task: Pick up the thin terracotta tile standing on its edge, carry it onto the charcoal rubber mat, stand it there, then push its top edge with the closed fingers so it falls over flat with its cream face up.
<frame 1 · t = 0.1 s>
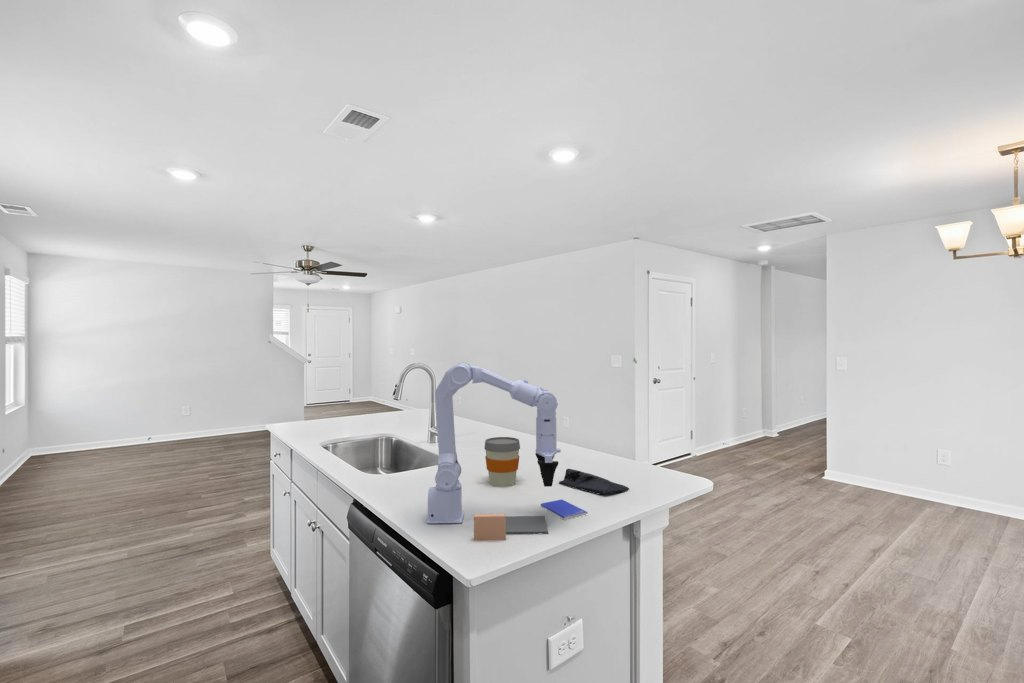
hand: (546, 482, 134), 10 cm above the counter, tool pointing down, fingers open, 7 cm apart
reusable coffee cup: (502, 483, 167), on the counter
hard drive: (563, 513, 139), on the counter
tile: (489, 539, 120), on the counter
mat: (520, 525, 128), on the counter
dark slate chunk: (593, 488, 163), on the counter
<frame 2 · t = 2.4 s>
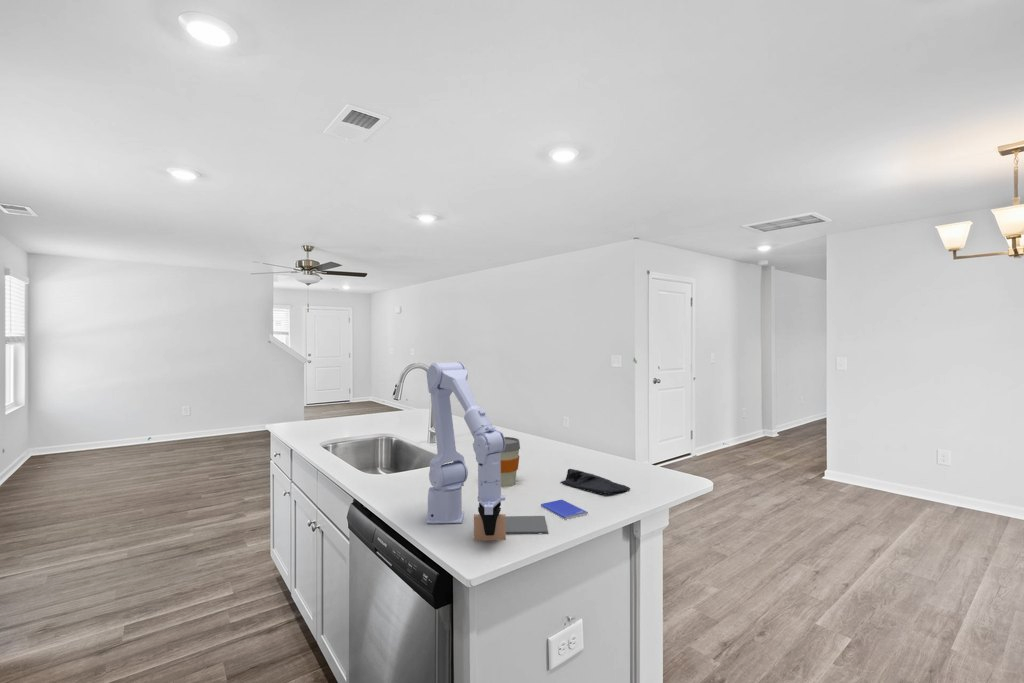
hand: (489, 533, 120), 1 cm above the counter, tool pointing down, fingers closed on tile, 2 cm apart
tile: (489, 539, 120), on the counter, touching gripper
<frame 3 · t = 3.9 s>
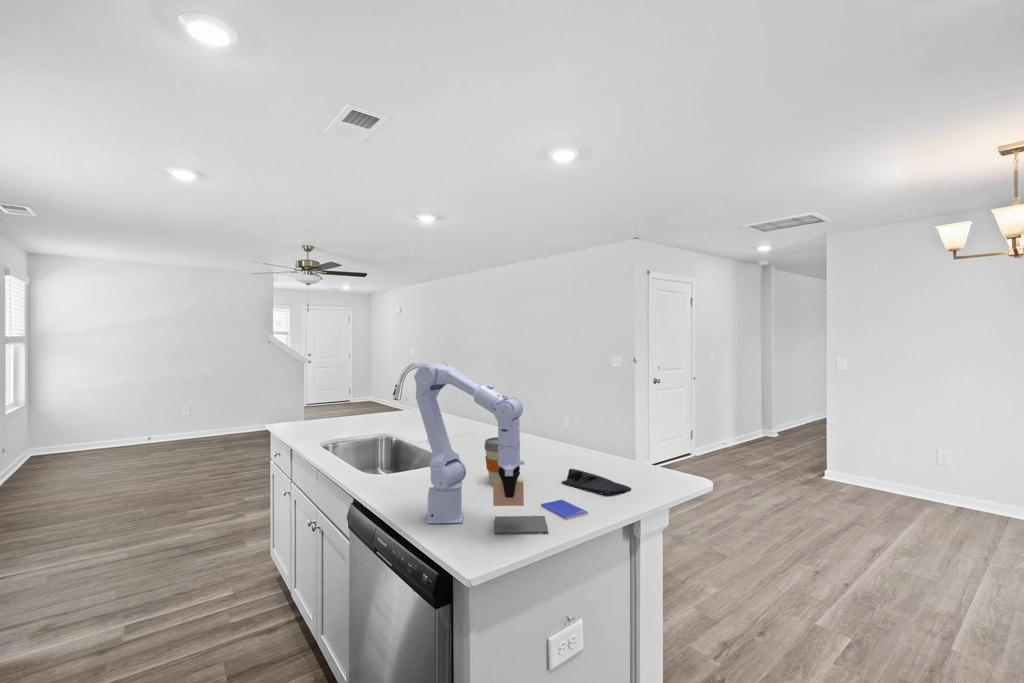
hand: (509, 495, 126), 9 cm above the counter, tool pointing down, fingers closed on tile
tile: (508, 504, 126), point 7 cm above the counter, touching gripper
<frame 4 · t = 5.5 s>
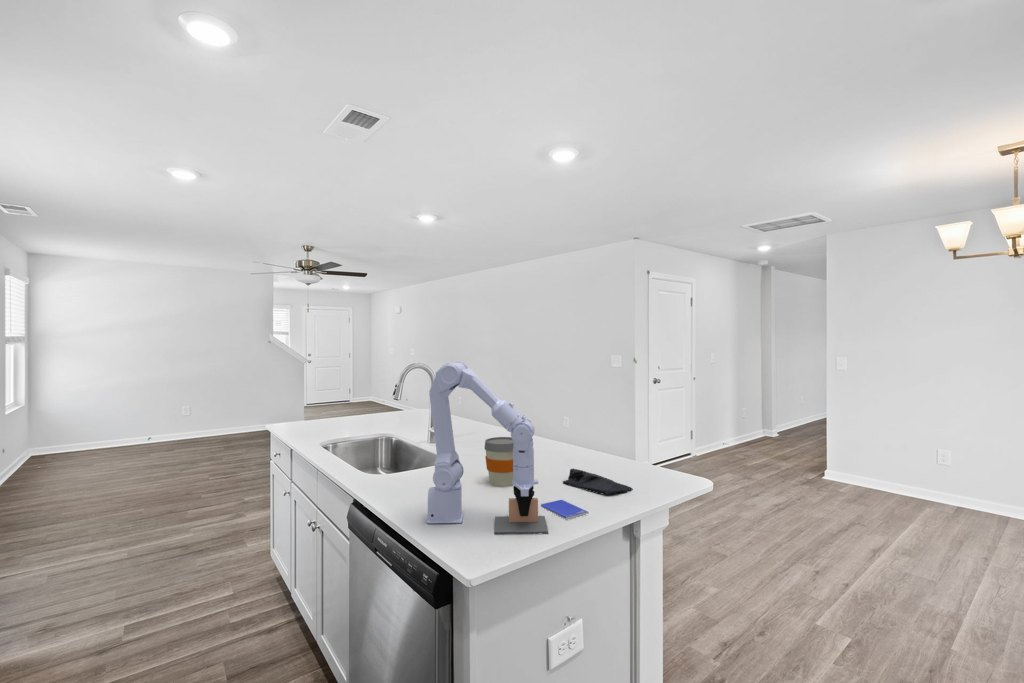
hand: (523, 514, 130), 2 cm above the counter, tool pointing down, fingers closed on tile, 2 cm apart
tile: (523, 520, 130), point 1 cm above the counter, touching gripper, mat
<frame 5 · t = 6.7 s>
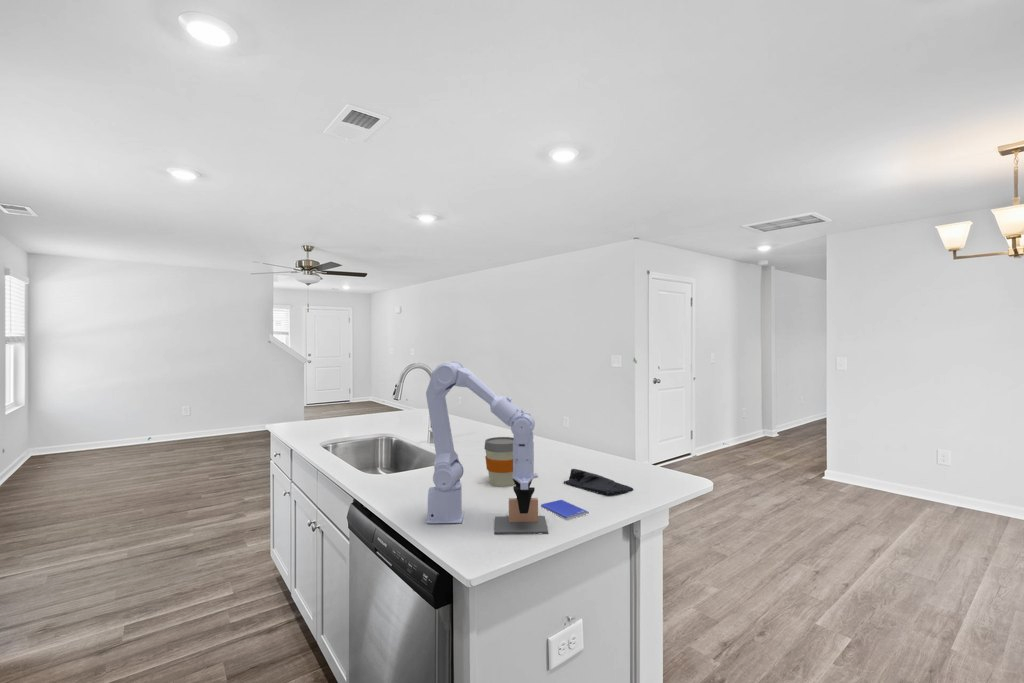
hand: (523, 507, 130), 4 cm above the counter, tool pointing down, fingers open, 7 cm apart
tile: (523, 520, 130), point 1 cm above the counter, touching mat
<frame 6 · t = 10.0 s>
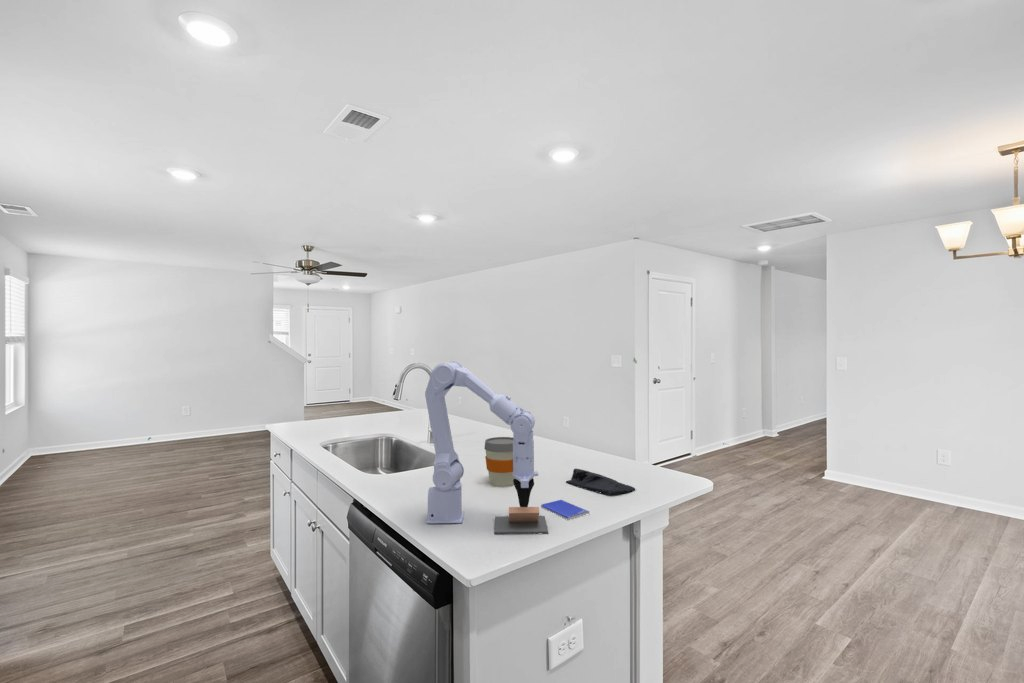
hand: (523, 506, 130), 5 cm above the counter, tool pointing down, fingers closed
tile: (523, 519, 130), point 1 cm above the counter, tilted 47°, touching mat
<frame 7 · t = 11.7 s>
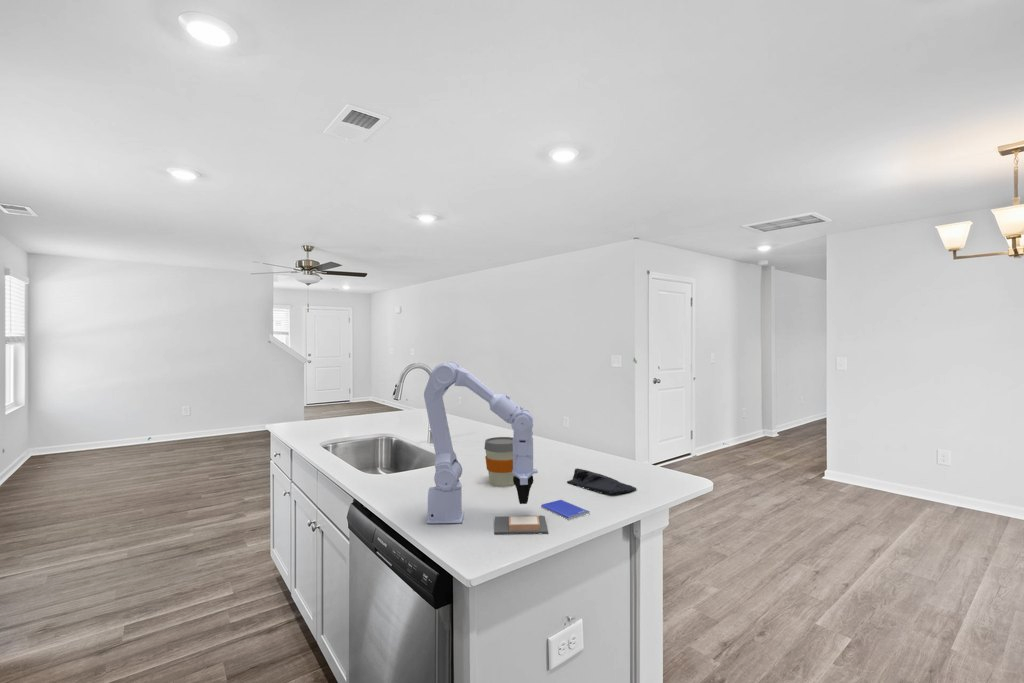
hand: (523, 503, 132), 5 cm above the counter, tool pointing down, fingers closed
tile: (523, 519, 129), point 1 cm above the counter, tilted 90°, touching mat
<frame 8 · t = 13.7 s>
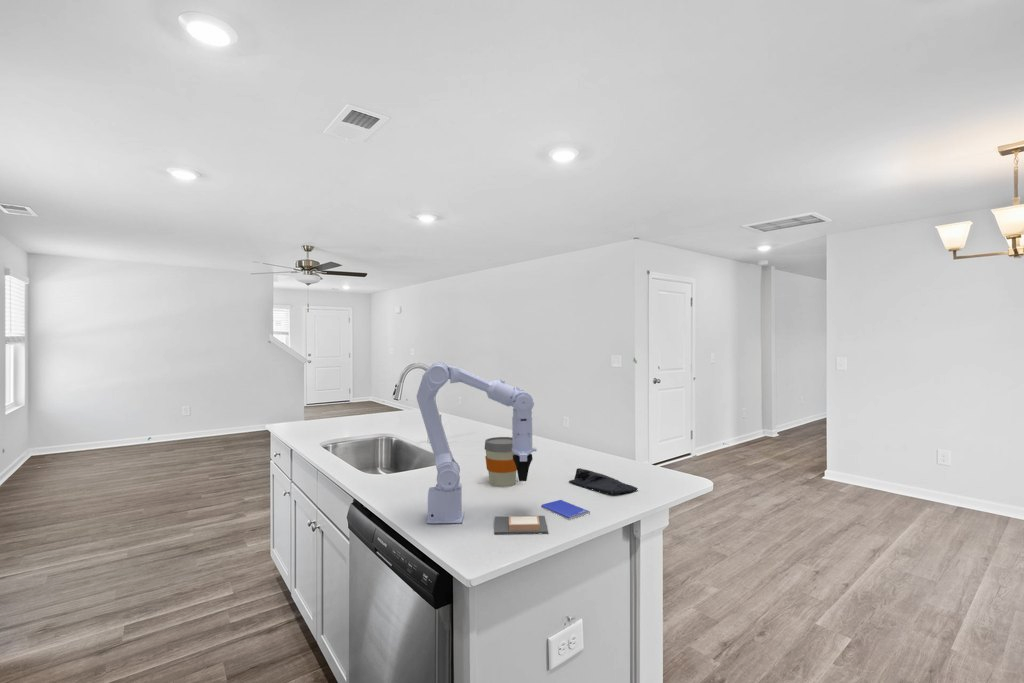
hand: (522, 480, 136), 10 cm above the counter, tool pointing down, fingers closed
at the end: tile tilted 90°; tile inside the target area on the mat (1.4 cm from its centre), point 1.4 cm above the mat's base; the gripper is holding nothing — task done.
